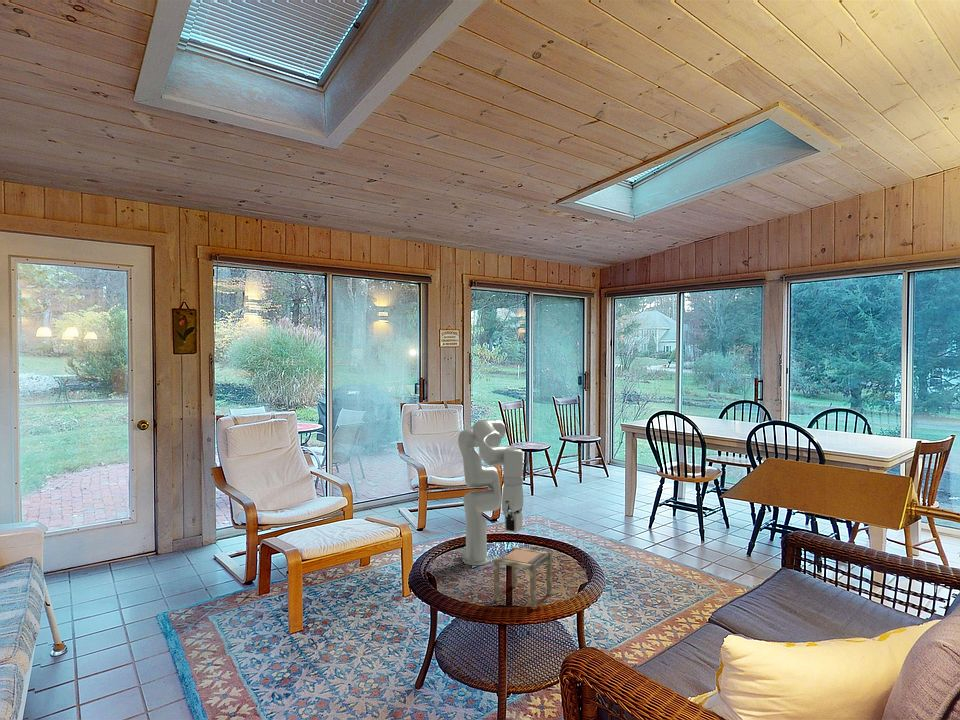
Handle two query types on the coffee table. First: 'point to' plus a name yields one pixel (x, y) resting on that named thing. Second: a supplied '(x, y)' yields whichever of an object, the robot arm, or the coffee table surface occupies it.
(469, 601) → the coffee table surface
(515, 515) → the smooth gray block
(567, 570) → the coffee table surface
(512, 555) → the trapdoor
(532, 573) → the trapdoor frame
